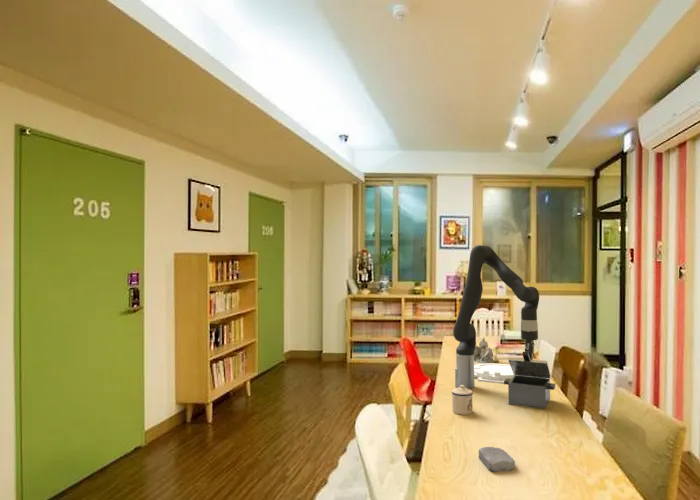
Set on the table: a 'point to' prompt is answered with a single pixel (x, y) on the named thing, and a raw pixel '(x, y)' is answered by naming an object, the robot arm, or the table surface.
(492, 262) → the robot arm
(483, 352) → the stone figurine sculpture
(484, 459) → the stone block
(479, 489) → the table surface
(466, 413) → the teacup with lid
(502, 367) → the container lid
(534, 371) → the pot lid
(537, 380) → the charcoal pot
